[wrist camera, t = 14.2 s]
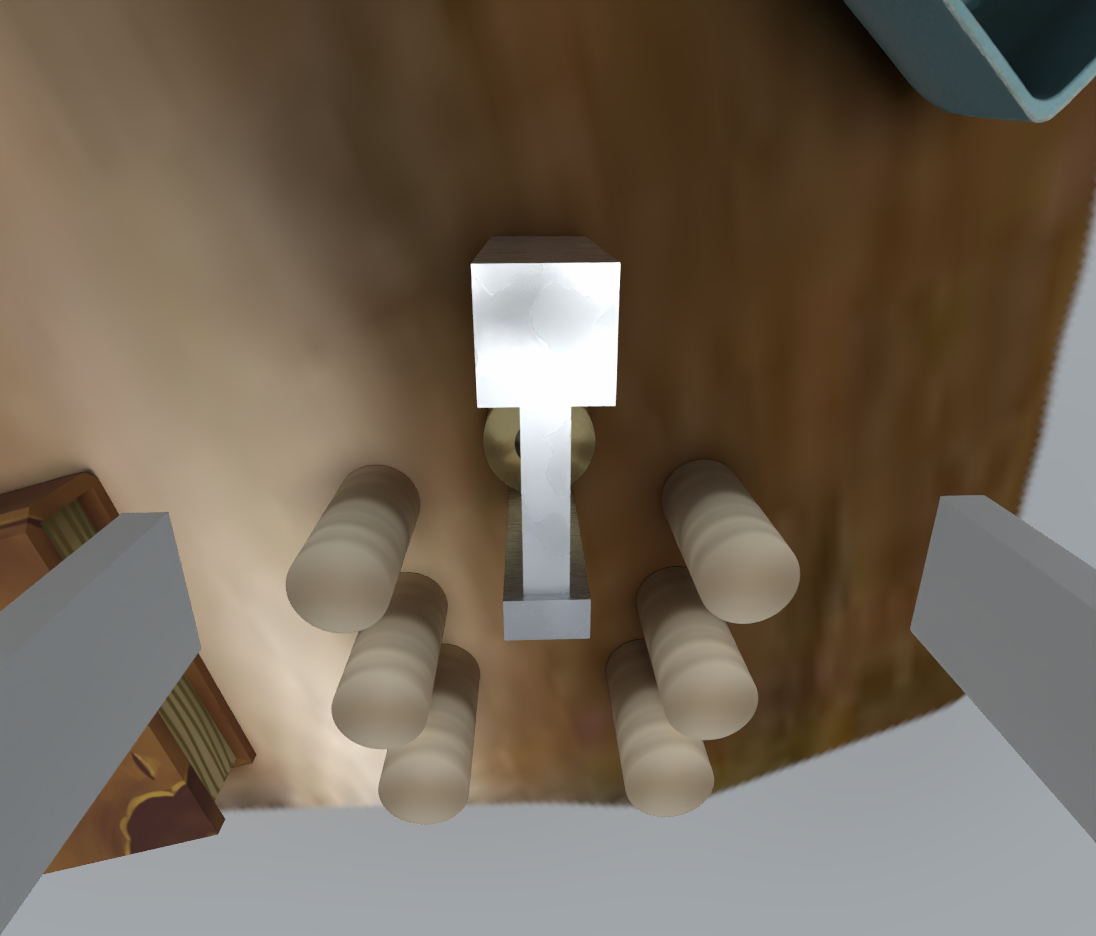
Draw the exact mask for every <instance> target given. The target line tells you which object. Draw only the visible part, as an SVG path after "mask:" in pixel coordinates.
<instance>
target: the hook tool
mask: <svg viewBox="0 0 1096 936" xmlns="http://www.w3.org/2000/svg"><path fill="white" fill-rule="evenodd" d="M471 279H472V301H473V323H474V345H475V367H476V389H477V408H502V407H520V449H521V491H518V490H515V489H513V488H511V487H510V486H509V498H508V517H507V536H506V555H505V574H504V594H503V613H504V640H542V639H585V638H590V609H591V598H590V592H589V586H588V580H587V574H586V567H585V561H584V555H583V549H582V543H581V536H580V530H579V524H578V518H577V512H576V506H575V499H574V493H573V487H572V485H570V483H571V407H574V406H616V378H617V348H618V318H619V288H620V262H619V261H618V260H616V259H615V258H614V257H612V256H611V255H610V254H608V253H607V252H606V251H604V250H603V249H601V248H600V247H599V246H597V245H596V244H595V243H593V242H592V241H591V240H589V239H588V238H587V237H585V236H491V237H490V239H489V240H488V241H487V243H486V244H485V245H484V247H483V248H482V249H481V251H480V252H479V253H478V255H477V256H476V257H475V259H474V260H473V261H472V263H471Z"/></svg>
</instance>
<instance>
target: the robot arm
mask: <svg viewBox="0 0 1096 936" xmlns="http://www.w3.org/2000/svg"><path fill="white" fill-rule="evenodd" d="M910 630H911V632H912V633H913V634H914V635H915V636H916V637H917V638H918V640H919V641H920V642H921V643H922V644H923V645H924V646H925V648H926V649H927V650H928V651H929V652H930V653H931V654H932V656H933V657H934V658H935V659H936V660H937V661H938V662H939V664H940V665H941V666H942V667H943V668H944V669H945V670H946V672H947V673H948V674H949V675H950V676H951V677H952V678H953V680H954V681H955V682H956V683H957V684H958V685H959V686H960V688H961V689H962V690H963V691H964V692H965V693H966V694H967V696H968V697H969V698H970V699H971V700H972V701H973V702H974V704H975V705H976V706H977V707H978V708H979V709H980V710H981V712H982V713H983V714H984V715H985V716H986V717H987V718H988V720H989V721H990V722H991V723H992V724H993V725H994V726H995V728H996V729H997V730H998V731H999V732H1000V733H1001V734H1002V736H1003V737H1004V738H1005V739H1006V740H1007V741H1008V742H1009V744H1010V745H1011V746H1012V747H1013V748H1014V749H1015V750H1016V752H1017V753H1018V754H1019V755H1020V756H1021V757H1022V759H1023V760H1024V761H1025V762H1026V763H1027V764H1028V765H1029V766H1030V768H1031V769H1032V770H1033V771H1034V772H1035V773H1036V775H1037V776H1038V777H1039V778H1040V779H1041V780H1042V781H1043V782H1044V784H1045V785H1046V786H1047V787H1048V788H1049V789H1050V791H1051V792H1052V793H1053V794H1054V795H1055V796H1056V797H1057V799H1058V800H1059V801H1060V802H1061V803H1062V804H1063V805H1064V807H1065V808H1066V809H1067V810H1068V811H1069V812H1070V813H1071V815H1072V816H1073V817H1074V818H1075V819H1076V820H1077V821H1078V823H1079V824H1080V825H1081V826H1082V827H1083V828H1084V829H1085V831H1086V832H1087V833H1088V834H1089V835H1090V836H1091V837H1092V839H1093V840H1094V841H1095V842H1096V569H1094V568H1093V567H1091V566H1090V565H1088V564H1087V563H1085V562H1084V561H1082V560H1081V559H1079V558H1078V557H1076V556H1075V555H1073V554H1072V553H1070V552H1069V551H1067V550H1066V549H1064V548H1063V547H1061V546H1060V545H1058V544H1057V543H1055V542H1054V541H1052V540H1051V539H1049V538H1048V537H1046V536H1045V535H1043V534H1042V533H1040V532H1039V531H1037V530H1035V529H1034V528H1033V527H1031V526H1030V525H1028V524H1027V523H1025V522H1024V521H1022V520H1021V519H1019V518H1018V517H1016V516H1015V515H1013V514H1012V513H1010V512H1009V511H1007V510H1006V509H1004V508H1003V507H1001V506H1000V505H998V504H997V503H995V502H994V501H992V500H991V499H989V498H988V497H986V496H985V495H970V496H941V497H940V501H939V506H938V510H937V514H936V519H935V523H934V527H933V532H932V536H931V540H930V545H929V549H928V554H927V558H926V562H925V567H924V571H923V575H922V580H921V584H920V588H919V593H918V597H917V602H916V606H915V610H914V615H913V619H912V623H911V628H910ZM200 650H201V645H200V641H199V637H198V632H197V628H196V624H195V620H194V616H193V612H192V608H191V603H190V599H189V595H188V591H187V587H186V583H185V578H184V574H183V570H182V566H181V562H180V558H179V554H178V549H177V545H176V541H175V537H174V533H173V529H172V525H171V520H170V516H169V512H157V513H122V514H120V515H119V516H118V517H117V518H115V519H114V520H113V521H112V522H111V523H109V524H108V525H107V526H106V527H104V528H103V529H102V530H101V531H99V532H98V533H97V534H96V535H94V536H93V537H92V538H91V539H89V540H88V541H87V542H86V543H84V544H83V545H82V546H81V547H80V548H78V549H77V550H76V551H75V552H73V553H72V554H71V555H70V556H68V557H67V558H66V559H65V560H63V561H62V562H61V563H60V564H58V565H57V566H56V567H55V568H53V569H52V570H51V571H50V572H49V573H47V574H46V575H45V576H44V577H42V578H41V579H40V580H39V581H37V582H36V583H35V584H34V585H32V586H31V587H30V588H29V589H27V590H26V591H25V592H24V593H23V594H21V595H20V596H19V597H18V598H16V599H15V600H14V601H13V602H11V603H10V604H9V605H8V606H6V607H5V608H4V609H3V610H1V611H0V934H1V933H2V932H3V930H4V929H5V927H6V926H7V924H8V923H9V922H10V920H11V919H12V917H13V916H14V914H15V913H16V912H17V910H18V909H19V907H20V906H21V904H22V903H23V902H24V900H25V898H26V897H27V896H28V894H29V893H30V892H31V890H32V889H33V887H34V886H35V884H36V883H37V882H38V880H39V879H40V877H41V876H42V875H43V873H44V872H45V870H46V869H47V867H48V866H49V865H50V863H51V862H52V860H53V859H54V858H55V856H56V855H57V853H58V852H59V850H60V849H61V848H62V846H63V845H64V843H65V842H66V840H67V839H68V838H69V836H70V835H71V833H72V832H73V830H74V829H75V828H76V826H77V825H78V823H79V822H80V821H81V819H82V818H83V816H84V815H85V813H86V812H87V811H88V809H89V808H90V806H91V805H92V803H93V802H94V801H95V799H96V798H97V796H98V795H99V793H100V792H101V791H102V789H103V788H104V786H105V785H106V784H107V782H108V781H109V779H110V778H111V776H112V775H113V774H114V772H115V771H116V769H117V768H118V766H119V765H120V764H121V762H122V761H123V759H124V758H125V756H126V755H127V754H128V752H129V751H130V749H131V748H132V746H133V745H134V744H135V742H136V741H137V739H138V738H139V737H140V735H141V734H142V732H143V731H144V729H145V728H146V727H147V725H148V724H149V722H150V721H151V719H152V718H153V717H154V715H155V714H156V712H157V711H158V709H159V708H160V707H161V705H162V704H163V702H164V701H165V700H166V698H167V697H168V695H169V694H170V692H171V691H172V690H173V688H174V687H175V685H176V684H177V682H178V681H179V680H180V678H181V677H182V675H183V674H184V672H185V671H186V670H187V668H188V667H189V665H190V664H191V662H192V661H193V660H194V658H195V657H196V655H197V654H198V653H199V651H200Z"/></svg>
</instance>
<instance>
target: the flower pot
mask: <svg viewBox="0 0 1096 936" xmlns="http://www.w3.org/2000/svg"><path fill="white" fill-rule="evenodd" d="M843 1H844V2H845V4H846V5H847V6H848V7H849V9H850V10H851V11H852V12H853V14H854V15H855V16H856V17H857V18H858V20H859V21H860V22H861V23H862V25H863V26H864V27H865V28H866V30H867V31H868V32H869V33H870V34H871V36H872V37H873V38H874V39H875V41H876V42H877V43H878V44H879V46H880V47H881V48H882V49H883V51H884V52H885V53H886V54H887V56H888V57H889V58H890V59H891V61H892V62H893V63H894V65H895V66H896V67H897V68H898V70H899V71H900V72H901V74H902V75H903V76H904V77H905V79H906V80H907V81H908V83H909V84H910V85H911V86H912V87H913V88H914V89H915V90H916V91H917V92H918V93H919V94H920V95H921V96H922V97H923V98H924V99H925V100H927V101H928V102H930V103H931V104H932V105H934V106H936V107H938V108H940V109H942V110H944V111H947V112H950V113H954V114H959V115H965V116H972V117H982V118H993V119H1004V120H1014V121H1027V122H1035V123H1041V122H1045V121H1048V120H1050V119H1051V118H1053V117H1054V116H1055V115H1056V114H1057V113H1058V112H1060V111H1061V110H1062V109H1063V108H1064V107H1065V106H1066V105H1067V104H1069V103H1070V102H1071V100H1072V99H1073V98H1074V97H1075V96H1076V95H1077V94H1078V93H1079V92H1080V91H1081V90H1082V89H1083V88H1084V87H1085V86H1086V85H1088V83H1089V82H1090V81H1091V80H1092V79H1093V78H1094V77H1095V76H1096V0H843Z"/></svg>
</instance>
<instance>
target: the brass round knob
mask: <svg viewBox="0 0 1096 936" xmlns="http://www.w3.org/2000/svg"><path fill="white" fill-rule="evenodd" d="M483 448H484V453H485V457H486V460H487V462H488V464H489V466H490V468H491V470H492V471H493V472H494V474H495V475H496V476H497V477H498V478H499V479H500V480H501V481H502V482H504V483H505V484H506V485H508V486H510V487H511V488H513V489H515V490H518V491H521V449H520V407H502V408H489V411H488V414H487V419H486V424H485V430H484V435H483ZM594 450H595V433H594V428H593V424H592V421H591V417H590V414H589V410H588V407H587V406H574V407H571V483H570V485H572V484H573V483H574V482H576V481H577V480H578V479H579V478H580V477H581V476H582V475H583V474H584V472H585V471H586V470H587V468H588V466H589V465H590V463H591V460H592V458H593V454H594Z"/></svg>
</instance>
